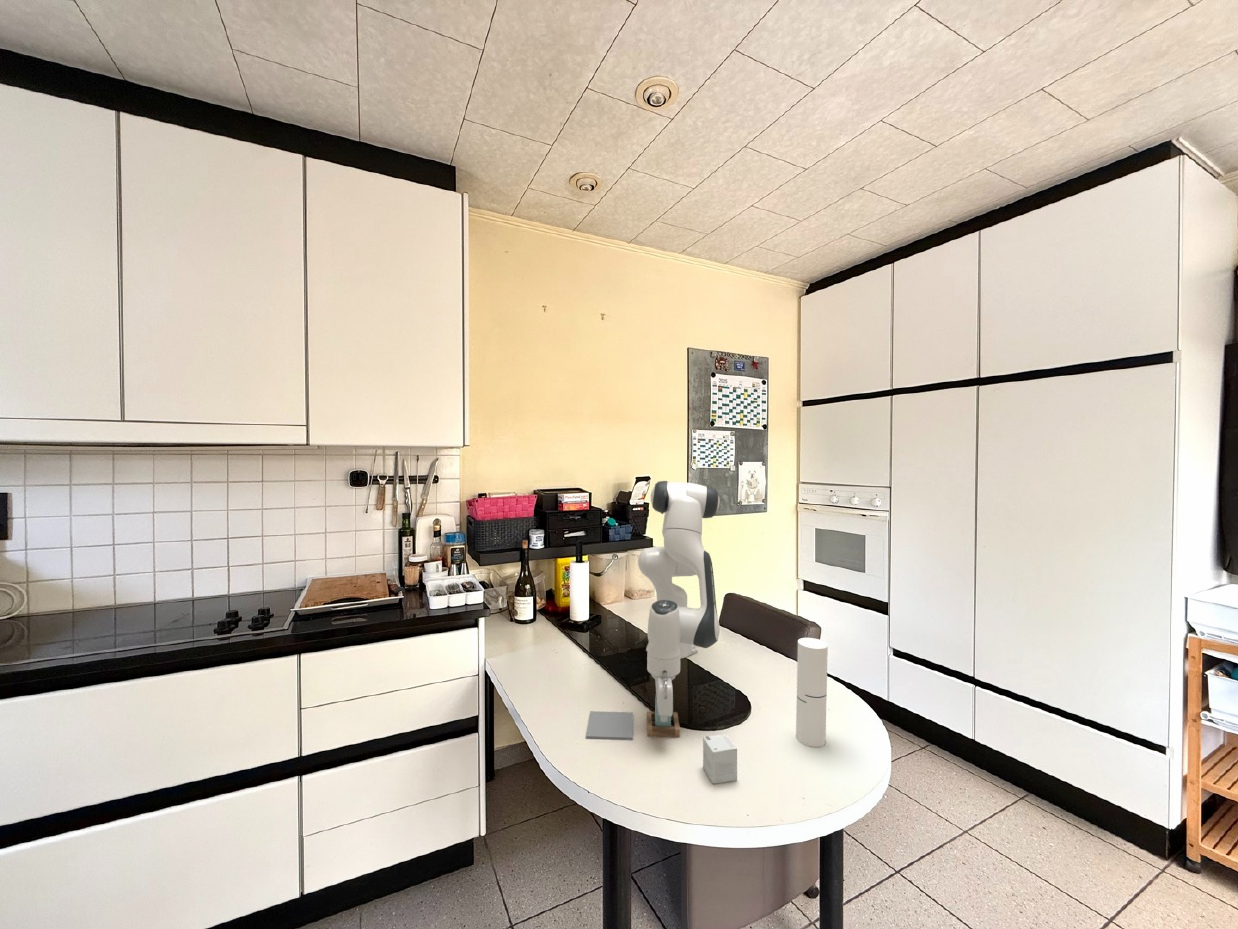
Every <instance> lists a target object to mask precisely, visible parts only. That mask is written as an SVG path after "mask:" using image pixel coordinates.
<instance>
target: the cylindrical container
mask: <svg viewBox="0 0 1238 929" xmlns="http://www.w3.org/2000/svg"><path fill="white" fill-rule="evenodd" d="M828 647H829V646H828V643H827V642H826V641H824V640H821V639H819V638H813V637H802V638H799V639H798V640H797V659H796V660H797V665H796V667H797V669H796V671H797V672H796V707H795V708H796V709H795V710H796V712H795V713H796V714H795V715H796V716H795V718H796V719H795V738H796V740H797V741H799V742H800V743H801V744H803V745H805V746H807V747H812V748H822V747H824V745H826V739H827V738H826V737H827V735H826V734H827V733H826V732H827V731H826V730H827V700H828V699H827V697H828V696H827V693H828V692H827V690H828V688H827V687H828V652H829V651H828V649H829V648H828Z"/></svg>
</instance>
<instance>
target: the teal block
mask: <svg viewBox="0 0 1238 929" xmlns="http://www.w3.org/2000/svg"><path fill="white" fill-rule="evenodd" d="M654 696H655V699H654V700H655V705H654V707H655V709H654V710H655V711H654V712H655V721H654V726H662V727H672V722H671V716H669V717H667V722H661V721H660V716H659V715H658V707H657V695H656V693H655V694H654Z"/></svg>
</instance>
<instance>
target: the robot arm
mask: <svg viewBox="0 0 1238 929" xmlns="http://www.w3.org/2000/svg"><path fill="white" fill-rule="evenodd" d="M719 495H720V494H719V491H718V490H717V489H716V488H715V487H713V486H709V485H706V486H705V485H702V484H699V483H693V482H683V481H681V482H680V481H668V480H660V481H657V482H656V483H655V485H654V486H653V488H652V490H651V493H650V503H651V507H652V508H653V510H654V511H655V512H657V513H660V514H662V515H664V517H663V524H662V529H661V533H662V536H663V546H653V547H648V548H645V549H642V551H641V552H640V553H639V555H638V559H637V566H638V569H639V570H640V572H641V574H642V575H643V576H644V577H646V578H648V579H649V581H650V582H651V583H652V585H653V586H654V589H655V594H656V601H655V602H653V603H652V604H651V605H650V609H649V613H648V614H649V615H648V620H647V621H648V622H647V639H648V643H647V645H646V649H645V651H646V652H647V653H646V654H647V657H646V661H647V662H646V663H647V664H646V665H647V666H646V670H647V672H648V673H649V674H651V677H652V678H653V679H654V680H655V681H654V682H655V692H656V693H655V694H656V695H657V707H658V715H659V716H660V721H661V722H667V717H669V716H672V714H673V712H674V697H673V696H674V694H673V693H674V690H673V688H674V687H673V683H672V682H673V680H675V678H676V676H678V675H679V674H680V672H681V659H684V658H688V657H689V656H691V655H692V654H696V653H698V649H697V647H698V648H703V649H708V648H710V647H713V645H714V644H715V643H717V642H718V641H719V636H720V632H721V631H720V630H721V628H720V622H719V617H718V611H717V610H718V609H717V600H716V589H715V579H714V578H715V577H714V576H715V575H714V568H713V562H712V559H711V555H710V553H709V552H708V551H706V550H705V548H704V545H703V542H702V534H703V519H712V518H713V517H714V516H716V514H717V512H718V510H719V508H720V503H721V502H720V500H721V499H720V496H719ZM693 576H694V577H695V576H697V577H698V578H697V579H698V584H699V597H700V599H699V600H700V601H699V602H700V607H699V608H698V607H697V608H693V607H688V594H687V591H686V590H685V589H684V588H683V587H681V586H679V585H677V584H676V583H673V578H674V577H677V578H678V577H693Z"/></svg>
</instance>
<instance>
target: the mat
mask: <svg viewBox="0 0 1238 929" xmlns="http://www.w3.org/2000/svg"><path fill="white" fill-rule="evenodd" d="M588 717H589V718H588V724H587V729H586V735H585V739H589V740H591V739H593V740H595V739H596V740H621V741H623V740H625V741H633V740H634V712H629V711H627V712H626V711H625V712H624V711H623V712H622V711H596V710H595V711H593V710H592V711H590V712H589V716H588Z"/></svg>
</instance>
